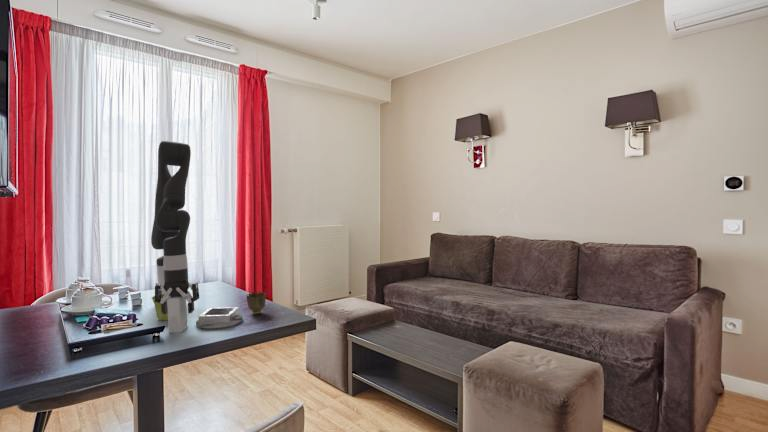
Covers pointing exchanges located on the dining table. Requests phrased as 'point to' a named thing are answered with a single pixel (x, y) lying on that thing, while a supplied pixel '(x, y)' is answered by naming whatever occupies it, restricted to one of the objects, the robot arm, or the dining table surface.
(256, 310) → the cup
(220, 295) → the dining table surface
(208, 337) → the dining table surface
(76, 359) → the dining table surface
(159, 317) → the plant pot
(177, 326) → the skincare box
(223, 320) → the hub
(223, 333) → the dining table surface
